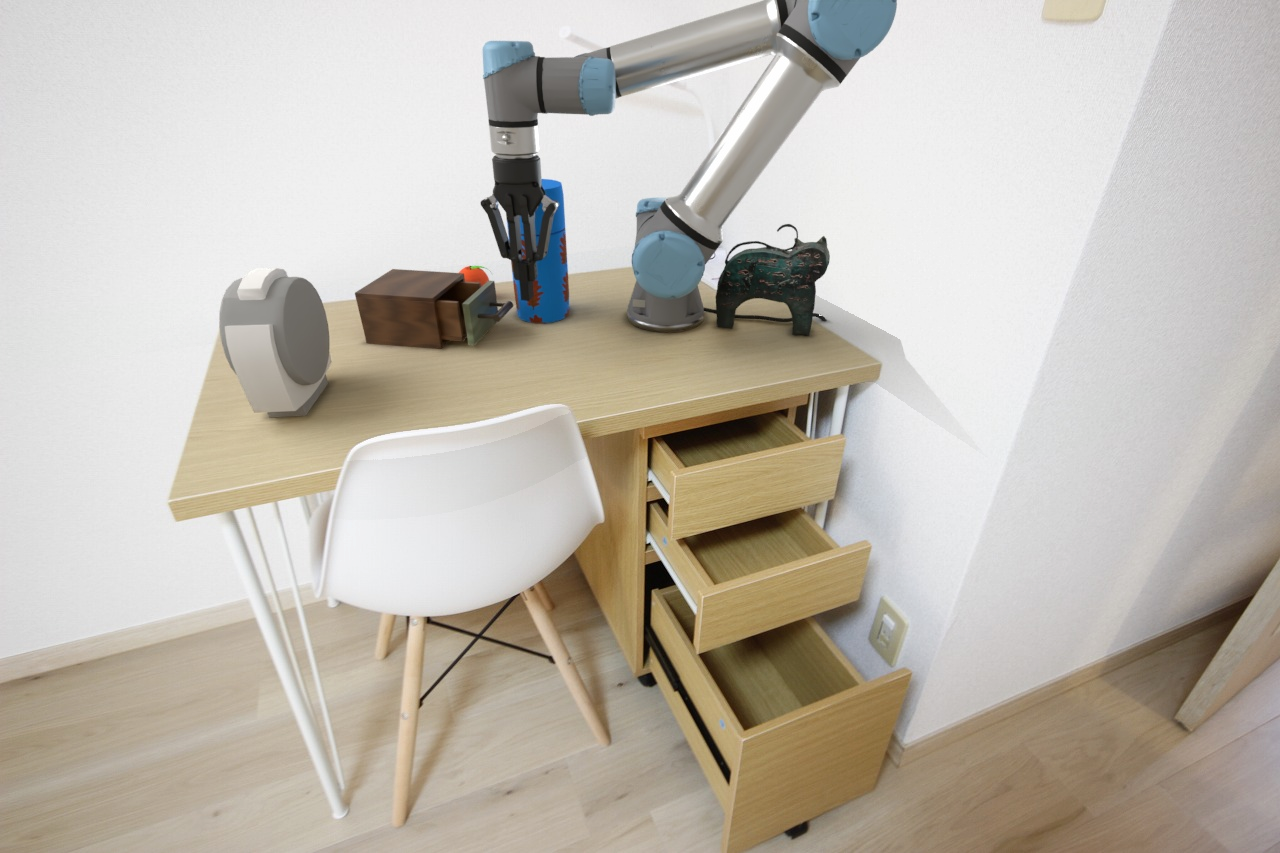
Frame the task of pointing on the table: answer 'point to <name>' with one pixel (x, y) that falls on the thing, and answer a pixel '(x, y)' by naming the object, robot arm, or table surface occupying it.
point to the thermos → (547, 267)
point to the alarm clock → (276, 341)
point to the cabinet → (404, 307)
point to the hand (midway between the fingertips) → (527, 297)
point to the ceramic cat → (773, 280)
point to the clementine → (475, 274)
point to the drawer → (469, 311)
